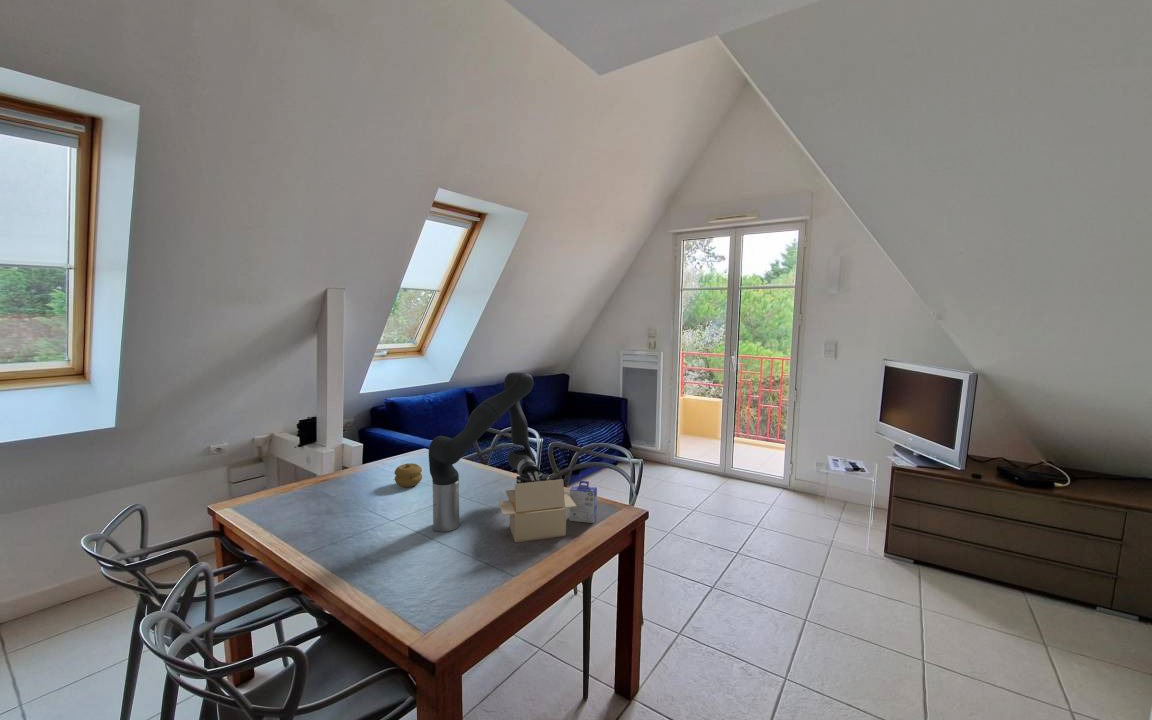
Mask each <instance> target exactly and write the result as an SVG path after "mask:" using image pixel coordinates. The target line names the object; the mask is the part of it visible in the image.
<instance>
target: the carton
mask: <svg viewBox="0 0 1152 720" xmlns="http://www.w3.org/2000/svg"><path fill="white" fill-rule="evenodd" d="M505 495H506V496H507V498H508V500H503V501H498V505H499V507H500V511H501V514H502V516H509V529H510V530H509V531H510V532H511V535H512V539H513V541H514V543H515V544H517V543H524V542H532V541H540V540H546V539H553V538H554V539H555V538H562V537H566V536H567V509H568V508H569V509H570V508H571V507H577V506H576V504H575V503H574V502H573V500H572V499H571V498H570V494H568V493H567V494H565V493H564V500H565V506H564V507H556V508H547V509H539V510H530V511H521V512H516V502H515V489H509V490H505Z"/></svg>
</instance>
